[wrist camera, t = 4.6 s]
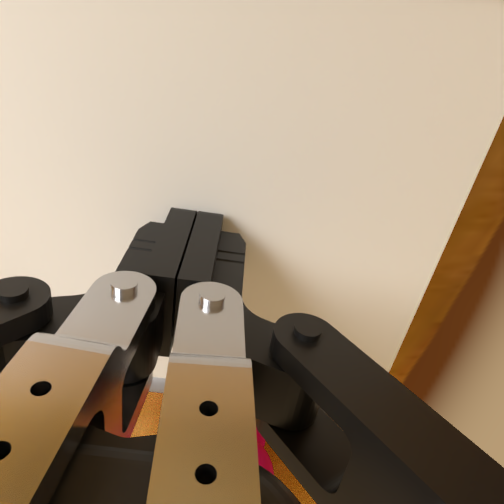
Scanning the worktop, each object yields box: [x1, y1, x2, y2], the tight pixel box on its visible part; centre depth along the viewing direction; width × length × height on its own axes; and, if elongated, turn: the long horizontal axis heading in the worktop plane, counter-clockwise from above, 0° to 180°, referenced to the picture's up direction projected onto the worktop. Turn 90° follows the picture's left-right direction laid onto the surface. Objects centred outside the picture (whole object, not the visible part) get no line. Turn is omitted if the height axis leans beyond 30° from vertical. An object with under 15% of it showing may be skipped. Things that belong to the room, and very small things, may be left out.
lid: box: [0, 0, 504, 393], centre depth 12 cm, size 17×15×1 cm
